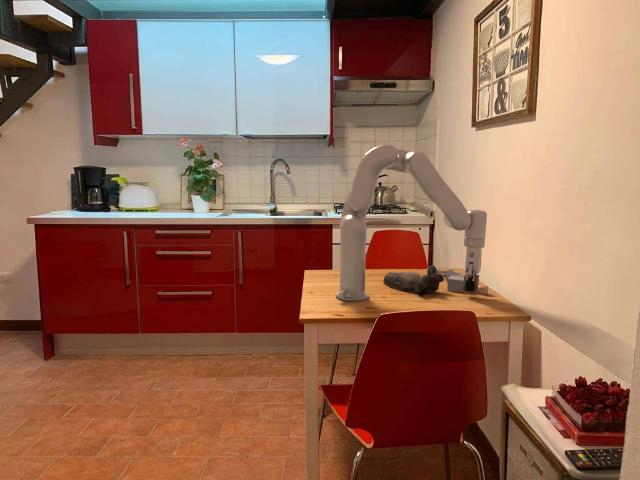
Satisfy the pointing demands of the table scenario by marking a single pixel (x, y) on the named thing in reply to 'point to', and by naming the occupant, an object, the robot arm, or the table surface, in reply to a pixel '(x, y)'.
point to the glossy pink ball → (482, 290)
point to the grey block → (455, 283)
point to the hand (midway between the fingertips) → (470, 289)
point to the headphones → (442, 272)
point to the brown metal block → (475, 283)
